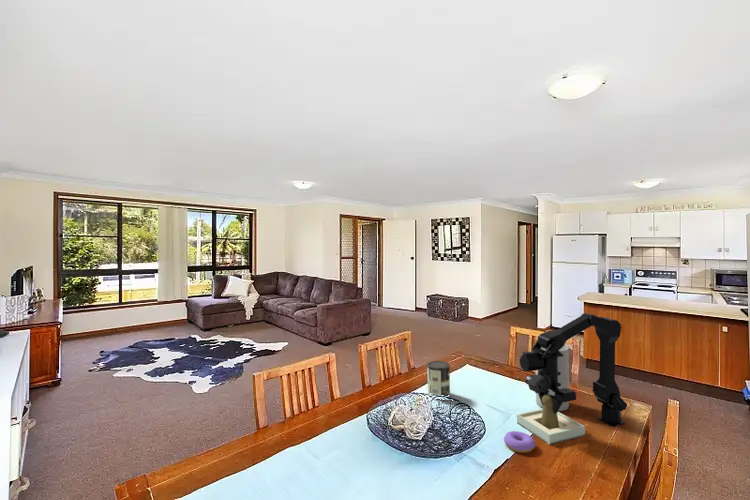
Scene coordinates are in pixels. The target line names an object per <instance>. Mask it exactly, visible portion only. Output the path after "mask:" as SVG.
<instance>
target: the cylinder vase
mask: <svg viewBox="0 0 750 500" xmlns="http://www.w3.org/2000/svg"><path fill="white" fill-rule="evenodd" d="M540 349H542V350H544V351H546V349H543V348H540ZM559 351H560V353H562V354H563V357H558V371H559V372H561V375H558V382H559V383H561V386H559V387H558V388H559V389H564V388H567V389H570V388H569V387H570V384H569V383H570V382H569V379H570V378H569V377H570V375H569V371H570V369H569V346H567V345H566V344H565V345H564V346H563V347H562V348H561V349H560V350H559ZM536 374H537V375H538V370H535V375H536ZM549 394H550V395H553V396H554V392H552V391H550V390H549ZM535 402H536V405H538V406H539V407H541V409H543V405H542V403H541V400H540V397H539V395H538V393H535ZM569 404H570V401H568V402H563V403H562V405H561V406H560V408H559V410H558V412H564V411H567V410H568V409H569V407H570V405H569Z"/></svg>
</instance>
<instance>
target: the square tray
mask: <svg viewBox="0 0 750 500" xmlns="http://www.w3.org/2000/svg"><path fill="white" fill-rule="evenodd" d="M542 412H543V408H539V409H536V410H531V411H526V412H521V413H517V414H516V423H517V424H518V425H519V426H520V427H521V428H523V429H525V430H526V431H528V432H529V433H531V434H532V435H534V436H535V437H537V438H538V439H540V440H542V442H544V443H546V444H547V445H550V446H552V445H554V444H559V443H562V442H567V441H570V440H574V439H578V438H581V437H582V438H583V437H585V436H586V425H584V424H582V423H579V422H578V421H576V420H574V419H572V418H570V417H569V416H567V415H565V414H563V413H561V411H558V412H557V417H558V423H559V428H554V429H548V428H546V427H544V426H543V425H541V420H542Z"/></svg>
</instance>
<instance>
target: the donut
mask: <svg viewBox="0 0 750 500" xmlns="http://www.w3.org/2000/svg"><path fill="white" fill-rule="evenodd" d="M503 442H504V444H505V445H506V447H507V448H508V449H509V450H511V451H513V452H515V453H520V454H521V453H522V454H527V453H530V452H533V450H534V449H535V448H536V442H535V440H534V438H533V437H532V436H531V435H530V434H528V433H525V432H522V431H518V430H517V431H515V430H512V431H508V432H506V434H505V435H504V438H503Z"/></svg>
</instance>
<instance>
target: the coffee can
mask: <svg viewBox="0 0 750 500" xmlns="http://www.w3.org/2000/svg"><path fill="white" fill-rule="evenodd" d="M450 368H451V365H450V363H448V362H446V361H444V360H432V361H428V362H427V363H426V374H427V375H426V376H427V379H426V380H427V394H428V393H431V394H436V395H444V396H448V395H449V394H450V395H451V386H450V385H451V384H450V382H451V381H450V380H451V379H450V378H451V377H450V375H451V373H450V372H451V370H450Z"/></svg>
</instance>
